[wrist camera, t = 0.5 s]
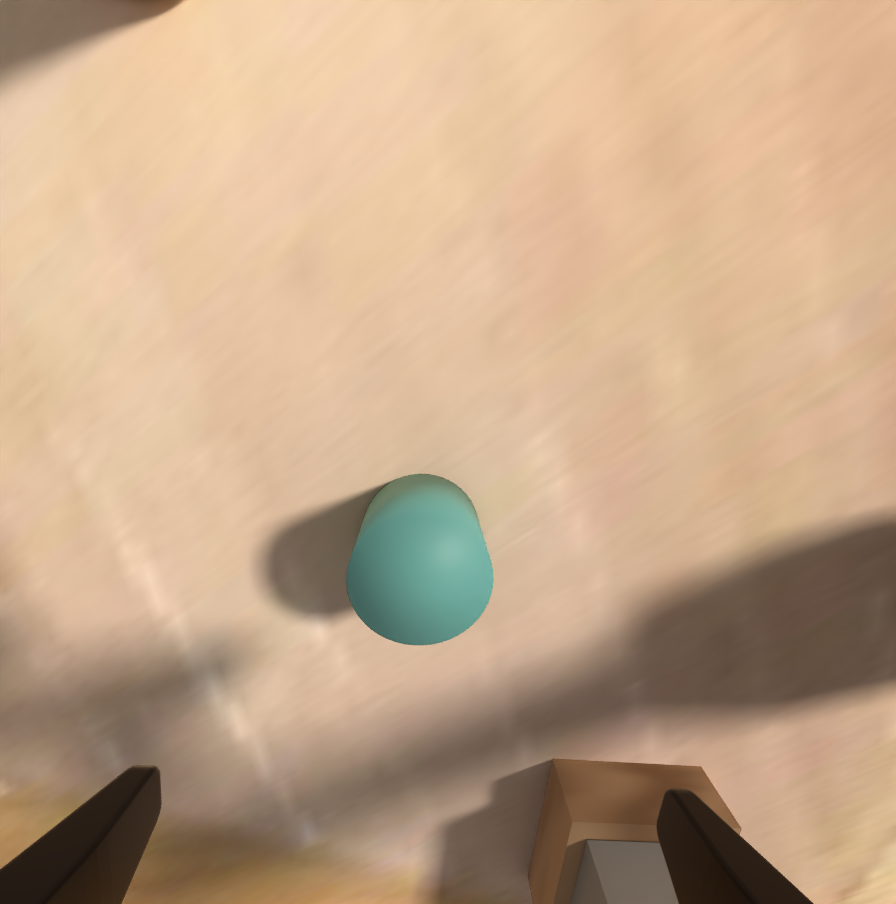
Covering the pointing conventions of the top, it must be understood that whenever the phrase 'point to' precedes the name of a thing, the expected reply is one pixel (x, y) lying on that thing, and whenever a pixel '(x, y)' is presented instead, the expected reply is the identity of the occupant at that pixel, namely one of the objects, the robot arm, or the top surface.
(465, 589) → the teal bullet block
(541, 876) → the walnut base block
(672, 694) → the top surface
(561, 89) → the top surface
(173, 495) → the top surface
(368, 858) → the top surface
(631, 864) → the grey square block
